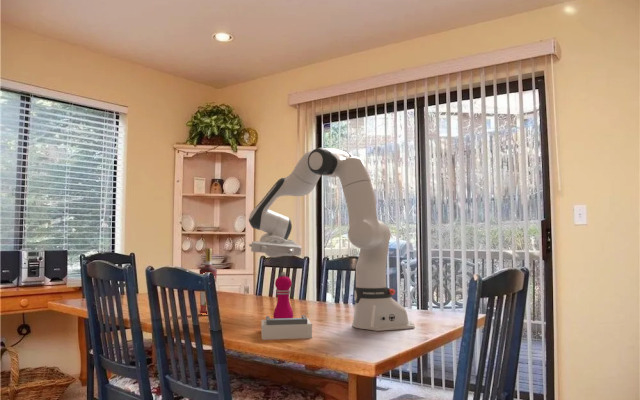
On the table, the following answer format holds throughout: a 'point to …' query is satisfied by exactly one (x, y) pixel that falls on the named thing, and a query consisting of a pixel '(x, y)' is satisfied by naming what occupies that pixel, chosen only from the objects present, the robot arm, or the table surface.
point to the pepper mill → (283, 297)
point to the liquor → (207, 268)
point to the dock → (286, 328)
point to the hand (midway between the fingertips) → (279, 251)
